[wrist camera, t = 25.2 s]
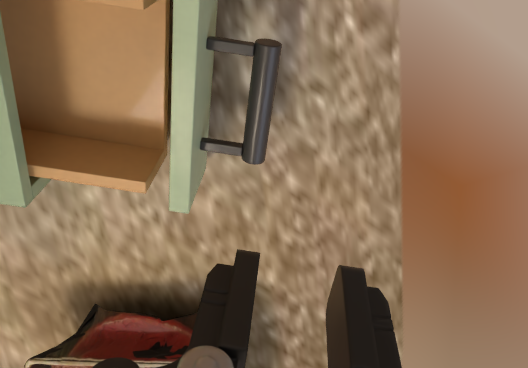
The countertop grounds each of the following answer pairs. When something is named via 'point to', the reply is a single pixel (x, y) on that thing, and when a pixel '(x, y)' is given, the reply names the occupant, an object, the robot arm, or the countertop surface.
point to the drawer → (127, 91)
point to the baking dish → (120, 341)
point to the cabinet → (13, 143)
